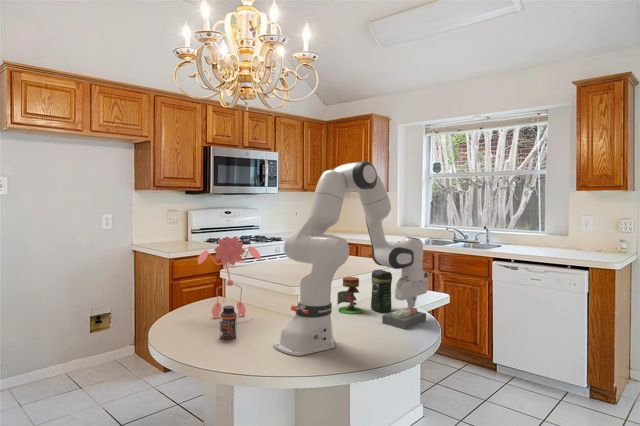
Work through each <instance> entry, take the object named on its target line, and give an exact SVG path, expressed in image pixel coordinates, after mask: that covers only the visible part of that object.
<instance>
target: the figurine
mask: <svg viewBox="0 0 640 426" xmlns="http://www.w3.org/2000/svg"><path fill="white" fill-rule="evenodd" d="M217 244H218V246H216V247H214V252H215V256H214V257H215V259H216V260H220V261H221V262H219V263H217V261H216V260H215V259H214V258H213V256H212V255H211V254H210V253H209V251H208V249H205V250H204V251H202V252H201V253H200V254H199V255H198V257H197V265H199V266H200V265H201V264H203V263H204V262H205V261H206V260H207V258H208V256H209V257H210V258H211V261H213V262H214V264H215V265H217V266H220V265H223V266H226V265H227V264H228V265H227V267H226V272H227V275H228V278H229V279H228V280H227V281H226V284H223V285H221V286H219V287H217V288H216V289H215V290H216V300H217V301H216V303H215V304H214V305H213V307H212V309H211V315H212V317H213V319H216V318H217V317H218V316H220V315H221V313H222V312H221V311H222V310H223V306H222V303H221V302H219V298H218V297H219V294H218V289H221V288H223V287H225V286H228V287H231V286H233V285H234V286H236V287H237V288H240V294H239V295H240V296H239V297H240V298H239V301H237V302H236V309H237V311H238V313H237V315H241V316H243V317H245V315H246V307H245V305H244V303H243V302H242V293H243V292H242V291H243V288H242V286H240V285H237V284H235V283H234V281H233V280H232V279H231V276H230V272H229V267H230V265H231V266H235V264H236V263H240V264H241V263H244V262H246V261H245V260H246V258H247V256H248V254H249V253H250V255H251V256H252V257H253V258H255V259H257V260H259V261H261V253H260V252H259V250H257V248H255V247H253V246H251V245H249V246H248V248H247V252H246V249H244V248H243V245H244V242H243V241H239V238H238V236H235V235H234V236H233V237H232V238H231V237H229V236H225V237H224V239H223V238H220V239H218V240H217ZM244 253H246V254H245V256H244V259H243V257H242V255H243V254H244ZM252 320H253V318H252V319H250V320H246V321H244V323H247V322H250V321H252ZM240 323H243V321H242V322H240ZM218 324H219V325H220V322H218Z"/></svg>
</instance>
